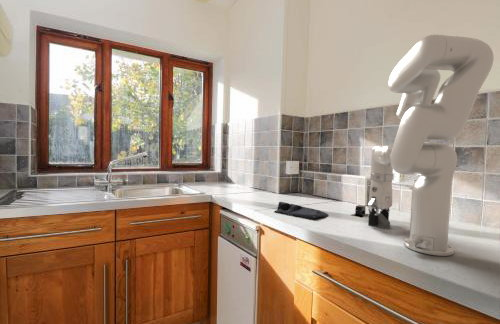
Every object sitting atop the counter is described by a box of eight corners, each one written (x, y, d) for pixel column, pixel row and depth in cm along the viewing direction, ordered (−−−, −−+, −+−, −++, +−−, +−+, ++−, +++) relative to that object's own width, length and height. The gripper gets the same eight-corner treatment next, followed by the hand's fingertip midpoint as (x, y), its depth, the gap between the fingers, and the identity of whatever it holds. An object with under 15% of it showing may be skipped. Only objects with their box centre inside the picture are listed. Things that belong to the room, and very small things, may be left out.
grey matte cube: (384, 229, 99) (384, 217, 99) (368, 225, 104) (368, 213, 104) (390, 227, 103) (390, 215, 102) (374, 223, 107) (374, 212, 107)
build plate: (358, 212, 128) (358, 203, 128) (373, 215, 123) (374, 205, 123) (346, 216, 120) (347, 206, 119) (363, 220, 114) (363, 209, 114)
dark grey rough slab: (312, 222, 108) (313, 211, 108) (271, 212, 123) (271, 202, 123) (331, 216, 119) (331, 206, 118) (291, 208, 134) (291, 198, 134)
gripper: (380, 180, 94) (378, 229, 95) (401, 178, 105) (398, 222, 106) (360, 178, 100) (358, 224, 101) (381, 176, 111) (379, 217, 112)
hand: (378, 223), depth 103 cm, fingers open, 8 cm apart
